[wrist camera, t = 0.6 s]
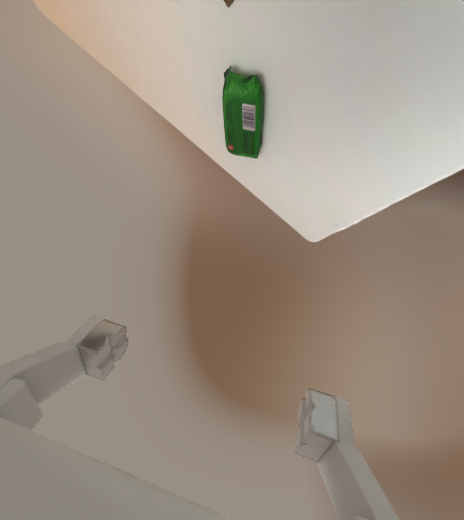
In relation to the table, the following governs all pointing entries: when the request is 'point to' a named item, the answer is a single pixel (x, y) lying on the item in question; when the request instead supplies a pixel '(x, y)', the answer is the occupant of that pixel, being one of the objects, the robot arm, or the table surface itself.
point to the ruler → (228, 2)
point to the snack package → (242, 114)
